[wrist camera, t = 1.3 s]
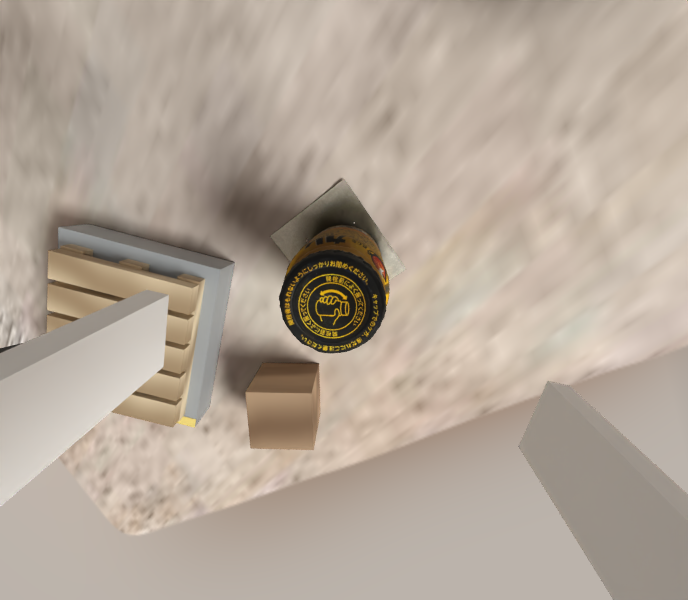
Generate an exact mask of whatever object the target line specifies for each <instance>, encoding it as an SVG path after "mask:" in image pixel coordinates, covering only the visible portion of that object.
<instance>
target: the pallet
mask: <svg viewBox="0 0 688 600" xmlns="http://www.w3.org/2000/svg"><path fill="white" fill-rule="evenodd" d="M149 265H150V264H146V263H142V262H138V261H135V260H131V259H125V260H122V261H119V264H118V263H114V262H110V261H106V260H103V259H99V258H95V257H93V249H89V248H85V247H81V246H78V245H74V244H68V245H62V246H60V249H54V250H48V278H49V279H53V280H56V282H52V283H48V290H47V310H49V311H53V312H54V313H51V314H49V315H47V333H48V332H50V331H52V330H55V329H57V328H59V327H62V326H64V325H66V324H69V323H71V322H73V321H76V320H78V319H80V318H82V317H85V316H87V315H89V314H92V313H94V312H96V311H99V310H101V309H103V308H105V307H108V306H110V305H112V304H115V303H117V302H119V301H122V300H124V299H126V298H129V297H131V296H133V295H135V294H138V293H140V292H142V291H145V290H150V291H154V292H159V293H163V294H168V295H169V301H168V314H167V327H166V340H165V353H164V366H163V368H162V369H160V370H159V371H158V372H157V373H156V374H155V375H153V376H152V377H151V378H150V379H149V380H148V381H146V382H145V383H144V384H143V385H142V386H141V387H139V388H138V389H137V390H136V391H135V392H134V393H132V394H131V395H130V396H129V397H128V398H127V399H125V400H124V401H123V402H122V403H121V404H120V405H118V406H117V407H116V408H115V409H114V410H113V411H111V412H113V413H117V414H121V415H125V416H129V417H133V418H137V419H141V420H145V421H149V422H153V423H157V424H161V425H165V426H169V427H174V425H175V424H176V423H177V422H179V421H180V420H181V418H182V417H183V416H184V415H185V410H186V403H187V397H188V390H189V384H190V377H191V370H192V364H193V357H194V350H195V344H196V337H197V331H198V324H199V317H200V311H201V304H202V298H203V291H204V284H205V279H203V278H199V277H196V276H192V275H188V274H182V275H179V276H177V279H175V278H171V277H167V276H164V275H160V274H156V273H152V272H149Z"/></svg>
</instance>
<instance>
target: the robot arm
mask: <svg viewBox="0 0 688 600" xmlns="http://www.w3.org/2000/svg"><path fill="white" fill-rule="evenodd" d="M168 301H169V295H168V294H163V293H159V292H154V291H150V290H145V291H142V292H140V293H138V294H135V295H133V296H131V297H129V298H126V299H124V300H122V301H119V302H117V303H115V304H112V305H110V306H108V307H105V308H103V309H101V310H99V311H96V312H94V313H92V314H89V315H87V316H85V317H82V318H80V319H78V320H76V321H73V322H71V323H69V324H66V325H64V326H62V327H59V328H57V329H55V330H52V331H50V332H48V333H46V334H43V335H41V336H39V337H36V338H34V339H32V340H29V341H27V342H25V343H21V344H17V345H13V346H9V347H4V348H0V507H1V506H2V505H3V504H4V503H5V502H7V501H8V500H9V499H10V498H11V497H12V496H14V495H15V494H16V493H17V492H18V491H19V490H21V489H22V488H23V487H24V486H25V485H26V484H27V483H29V482H30V481H31V480H32V479H33V478H34V477H36V476H37V475H38V474H39V473H40V472H42V470H44V469H45V468H46V467H47V466H49V465H50V464H51V463H52V462H53V461H54V460H55V459H57V458H58V457H59V456H60V455H61V454H63V453H64V452H65V451H66V450H67V449H68V448H70V447H71V446H72V445H73V444H74V443H75V442H77V441H78V440H79V439H80V438H81V437H82V436H84V435H85V434H86V433H87V432H88V431H89V430H91V429H92V428H93V427H94V426H95V425H96V424H97V423H99V422H100V421H101V420H102V419H103V418H104V417H106V416H107V415H108V414H109V413H110V412H111V411H113V410H114V409H115V408H116V407H117V406H118V405H120V404H121V403H122V402H123V401H124V400H125V399H127V398H128V397H129V396H130V395H131V394H132V393H134V392H135V391H136V390H137V389H138V388H139V387H141V386H142V385H143V384H144V383H145V382H146V381H148V380H149V379H150V378H151V377H152V376H153V375H155V374H156V373H157V372H158V371H159V370H160V369H162V368H163V366H164V353H165V340H166V327H167V314H168ZM519 448H520V450H521V451H522V453H523V455H524V456H525V458H526V459H527V461H528V463H529V464H530V466H531V468H532V469H533V471H534V472H535V474H536V476H537V477H538V479H539V480H540V482H541V484H542V485H543V487H544V488H545V490H546V492H547V493H548V495H549V497H550V498H551V500H552V501H553V503H554V505H555V506H556V508H557V509H558V511H559V513H560V514H561V516H562V518H563V519H564V520H565V522H566V524H567V526H568V527H569V529H570V530H571V532H572V534H573V535H574V537H575V538H576V540H577V542H578V543H579V545H580V547H581V548H582V550H583V551H584V553H585V555H586V556H587V558H588V560H589V561H590V563H591V564H592V566H593V567H594V569H595V571H596V572H597V574H598V576H599V577H600V579H601V581H602V582H603V584H604V585H605V587H606V589H607V590H608V592H609V593H610V595H611V597H612V598H613V600H688V494H687V493H686V492H684V491H683V490H682V489H681V488H680V487H679V486H678V485H677V484H676V483H675V482H674V481H673V480H671V479H670V478H669V477H668V476H667V475H666V474H665V473H664V472H663V471H662V470H661V469H660V468H658V467H657V466H656V465H655V464H654V463H653V462H652V461H651V460H650V459H649V458H648V457H646V456H645V455H644V454H643V453H642V452H641V451H640V450H639V449H638V448H637V447H636V446H634V445H633V444H632V443H631V442H630V441H629V440H628V439H627V438H626V437H625V436H623V434H621V433H620V432H619V431H618V430H617V429H616V428H615V427H614V426H613V425H612V424H611V423H609V422H608V421H607V420H606V419H605V418H604V417H603V416H602V415H601V414H600V413H599V412H598V411H596V410H595V409H594V408H593V407H592V406H591V405H590V404H589V403H588V402H587V401H586V400H585V399H583V398H582V397H581V396H580V395H579V394H578V393H577V392H576V391H575V390H574V389H573V388H571V387H570V386H568V385H564V384H560V383H555V382H551V381H548V382H547V384H546V386H545V388H544V391H543V393H542V395H541V397H540V400H539V402H538V404H537V406H536V409H535V411H534V413H533V415H532V418H531V420H530V422H529V424H528V427H527V429H526V431H525V433H524V435H523V438H522V440H521V442H520V445H519Z"/></svg>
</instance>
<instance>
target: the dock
mask: <svg viewBox="0 0 688 600" xmlns="http://www.w3.org/2000/svg"><path fill="white" fill-rule="evenodd" d="M68 244H74V245H78V246H81V247H85V248H89V249H93V257H95V258H99V259H103V260H106V261H110V262H114V263H118V264H119V261H122V260H125V259H131V260H135V261H138V262H142V263H146V264H150V265H149V272H152V273H156V274H160V275H164V276H167V277H171V278H175V279H177V276H179V275H182V274H188V275H192V276H196V277H199V278H203V279H205V284H204V291H203V298H202V304H201V311H200V317H199V324H198V331H197V337H196V344H195V350H194V357H193V364H192V370H191V377H190V384H189V390H188V397H187V403H186V410H185V415H184V416H183V417H182V418H181V420H180V421H179V422H177V423H179V424H183V425H187V426H191V427H195V426H196V425H197V424H198V422H199V421H200V419H201V418H202V417H203V415H204V414H205V413H206V411H207V410H208V408H209V407H210V402H211V396H212V390H213V384H214V379H215V373H216V367H217V361H218V356H219V350H220V344H221V338H222V333H223V327H224V321H225V315H226V310H227V304H228V298H229V292H230V286H231V281H232V275H233V269H234V262H231V261H227V260H223V259H219V258H215V257H212V256H208V255H204V254H200V253H197V252H193V251H189V250H185V249H181V248H178V247H174V246H170V245H166V244H163V243H159V242H155V241H151V240H147V239H144V238H140V237H136V236H132V235H129V234H125V233H121V232H117V231H114V230H110V229H106V228H102V227H98V226H95V225H91V224H85V225H74V226H63V227H58V249H60V246H62V245H68Z"/></svg>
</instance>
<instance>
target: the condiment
mask: <svg viewBox="0 0 688 600" xmlns="http://www.w3.org/2000/svg"><path fill="white" fill-rule="evenodd" d="M353 222H355V224H353ZM270 237H271V238H272V240H273V241H274V242H275V244H276V245H277V246H278V247H279V249H280V250H281V251H282V252H283V254H284V255H285V257H286V258H287V259H288V260H289V261H290V264H289V266H288V268H287V272H286V275H285V280H284V283H283V286H282V290H281V292H280V295H279V300H280V308H281V312H282V317H283V320H284V322H285V324H286V326H287V327H288V328H289V330H290V331H291V332H292V334H293V335H294V336H295V337H296V338H297V339H298V340H299V341H300V342H301V343H302V344H304V345H307V346H309V347H311V348H313V349H315V350H316V351H318V352H322V353H341V352H347V351H350V350H352V349H355V348H357V347H359V346H361V345H362V344H364V343H366V342H367V341H368V340H370V339H371V338H372V337H373V335H374V334H375V333H376V331H377V329H378V328H379V327H380V325H381V322H382V320H383V318H384V316H385V312H386V306H387V303H388V299H389V289H390V288H389V281H390V280H391V279H393V278H394V277H396V276H397V275H399V274H400V273H402V272H403V271H404V270H406V268H405V266H404V265H403V264H402V262H401V261H400V259H399V258H398V256H397V255H396V253H395V252H394V250H393V249H392V248H391V246H390V245H389V243H388V242H387V240H386V239H385V237H384V236H383V235H382V233H381V232H380V230H379V229H378V227H377V226H376V224H375V223H374V221H373V220H372V219H371V217H370V216H369V214H368V213H367V211H366V210H365V208H364V207H363V206H362V204H361V203H360V201H359V200H358V198H357V197H356V195H355V194H354V193H353V191H352V190H351V188H350V187H349V185H348V184H347V182H346V181H345V179H343V180H342V181H341V182H339V183H338V184H337V185H336V186H334V187H333V188H332V189H330V190H329V191H328V192H327V193H325V194H324V195H323V196H321V197H320V198H319V199H317V200H316V201H315V202H314V203H313V204H311V205H310V206H309V207H307V208H306V209H305V210H303V211H302V212H301V213H300V214H298V215H297V216H296V217H294V218H293V219H292V220H290V221H289V222H288V223H287V224H285V225H284V226H283V227H281V228H280V229H279V230H277V231H276V232H275V233H274V234H272V235H271V236H270ZM307 238H308V243H307V242H306V239H307Z"/></svg>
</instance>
